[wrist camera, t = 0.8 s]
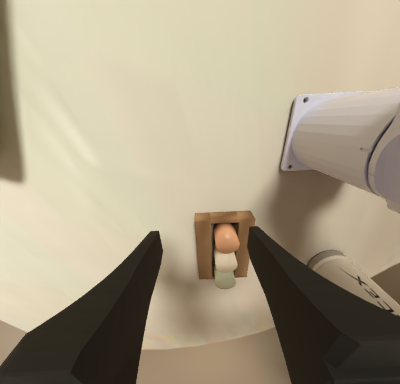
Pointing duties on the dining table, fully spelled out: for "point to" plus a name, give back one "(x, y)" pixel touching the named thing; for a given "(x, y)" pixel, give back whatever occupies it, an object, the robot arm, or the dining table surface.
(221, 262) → the button mid
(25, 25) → the dining table surface
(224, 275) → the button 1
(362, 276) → the travel mug
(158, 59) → the dining table surface
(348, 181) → the robot arm
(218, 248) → the button
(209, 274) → the panel
